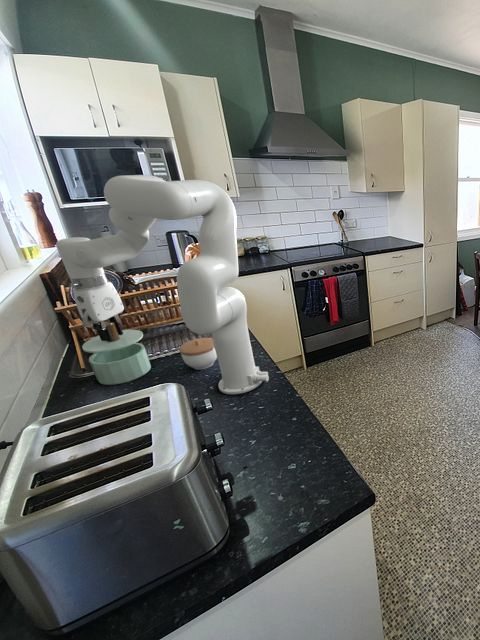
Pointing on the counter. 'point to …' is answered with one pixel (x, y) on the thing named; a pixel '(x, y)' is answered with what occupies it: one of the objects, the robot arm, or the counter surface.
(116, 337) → the bowl lid
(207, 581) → the counter surface
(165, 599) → the counter surface
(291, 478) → the counter surface
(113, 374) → the bowl
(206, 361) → the trinket box
